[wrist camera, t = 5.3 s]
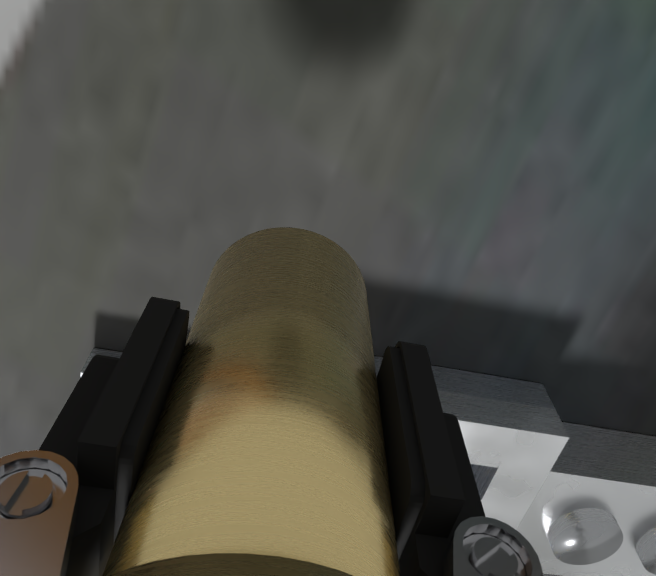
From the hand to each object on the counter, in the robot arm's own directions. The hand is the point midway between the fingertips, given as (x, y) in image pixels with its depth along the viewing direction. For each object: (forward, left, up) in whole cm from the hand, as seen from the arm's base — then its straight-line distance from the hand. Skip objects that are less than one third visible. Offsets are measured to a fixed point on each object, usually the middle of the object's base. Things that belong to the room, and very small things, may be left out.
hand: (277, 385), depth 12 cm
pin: (0, 0, -3) cm, 3 cm away
